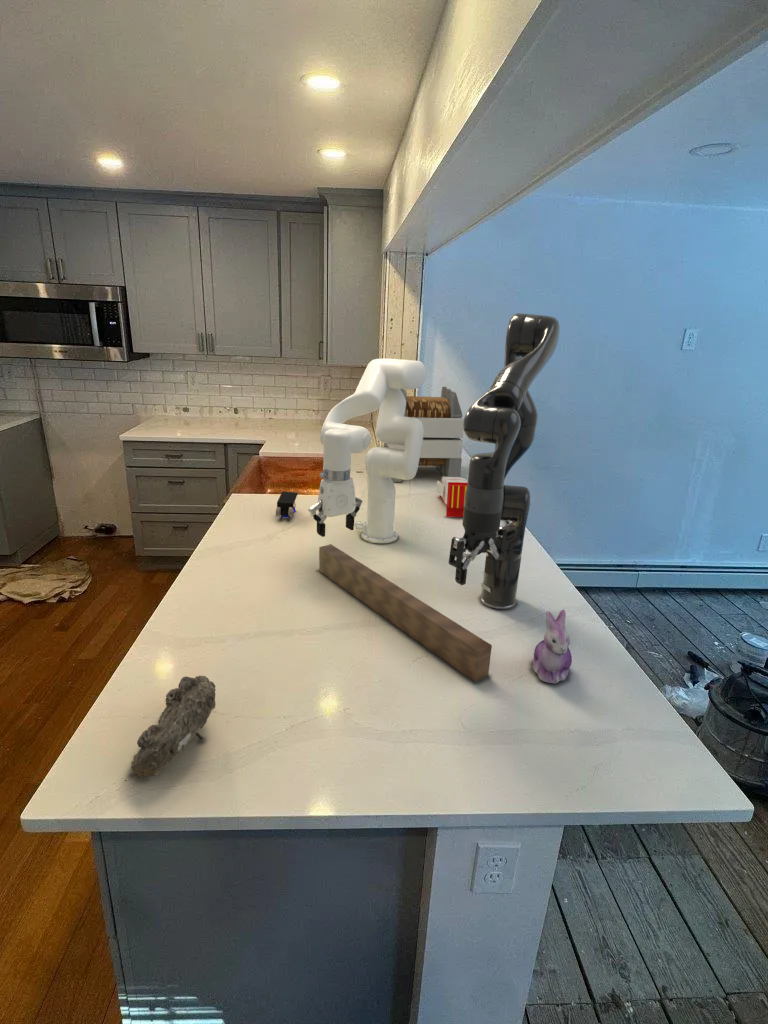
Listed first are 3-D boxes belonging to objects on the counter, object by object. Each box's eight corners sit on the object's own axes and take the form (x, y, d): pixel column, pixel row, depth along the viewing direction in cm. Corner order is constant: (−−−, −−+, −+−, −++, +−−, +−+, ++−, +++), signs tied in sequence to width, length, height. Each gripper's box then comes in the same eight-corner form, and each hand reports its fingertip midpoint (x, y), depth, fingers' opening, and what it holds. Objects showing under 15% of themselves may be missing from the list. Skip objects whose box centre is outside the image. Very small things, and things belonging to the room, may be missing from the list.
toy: (463, 473, 243) (476, 484, 213) (461, 503, 245) (474, 518, 216) (435, 472, 242) (444, 483, 213) (433, 502, 245) (442, 517, 216)
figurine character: (293, 526, 206) (298, 508, 219) (293, 507, 202) (298, 490, 216) (275, 525, 205) (281, 507, 219) (274, 507, 202) (280, 489, 215)
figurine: (551, 690, 120) (562, 629, 115) (520, 664, 128) (528, 606, 123) (584, 679, 124) (596, 619, 119) (551, 654, 132) (561, 597, 127)
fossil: (164, 676, 112) (217, 643, 107) (198, 707, 115) (251, 677, 110) (105, 770, 92) (166, 735, 87) (148, 805, 95) (209, 773, 90)
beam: (319, 570, 169) (319, 546, 167) (330, 567, 172) (330, 544, 169) (475, 682, 122) (478, 651, 119) (488, 675, 124) (492, 645, 121)
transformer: (382, 463, 289) (386, 382, 275) (445, 464, 293) (451, 384, 279) (390, 482, 257) (394, 392, 243) (460, 483, 261) (468, 394, 247)
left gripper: (316, 482, 149) (316, 542, 154) (370, 473, 159) (367, 530, 165) (302, 475, 154) (302, 533, 160) (354, 467, 164) (353, 522, 170)
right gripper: (471, 518, 107) (463, 594, 112) (521, 505, 115) (511, 577, 120) (444, 506, 112) (438, 580, 118) (493, 495, 121) (485, 564, 126)
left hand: (335, 532), depth 162 cm, fingers open, 9 cm apart
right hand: (475, 578), depth 119 cm, fingers open, 8 cm apart
